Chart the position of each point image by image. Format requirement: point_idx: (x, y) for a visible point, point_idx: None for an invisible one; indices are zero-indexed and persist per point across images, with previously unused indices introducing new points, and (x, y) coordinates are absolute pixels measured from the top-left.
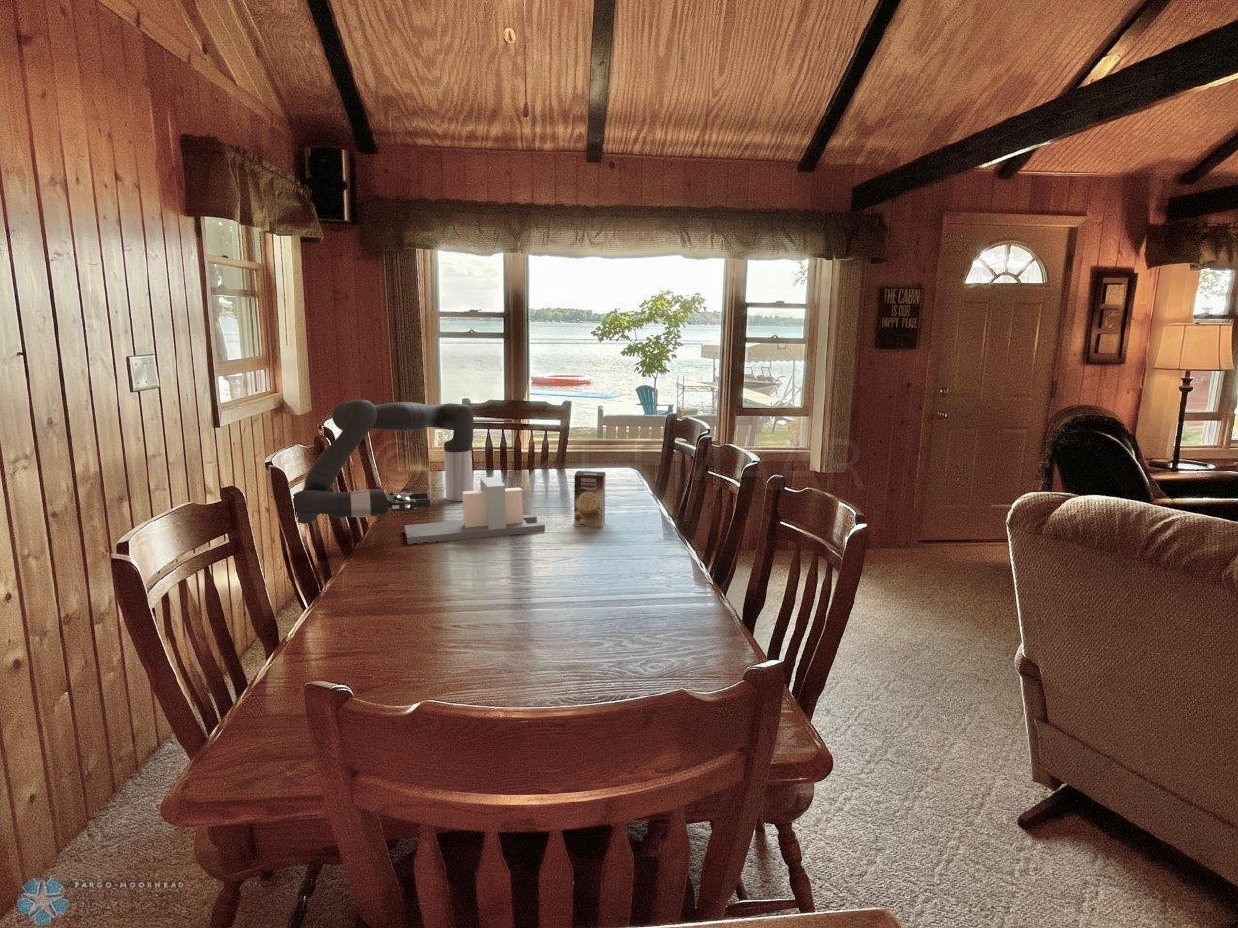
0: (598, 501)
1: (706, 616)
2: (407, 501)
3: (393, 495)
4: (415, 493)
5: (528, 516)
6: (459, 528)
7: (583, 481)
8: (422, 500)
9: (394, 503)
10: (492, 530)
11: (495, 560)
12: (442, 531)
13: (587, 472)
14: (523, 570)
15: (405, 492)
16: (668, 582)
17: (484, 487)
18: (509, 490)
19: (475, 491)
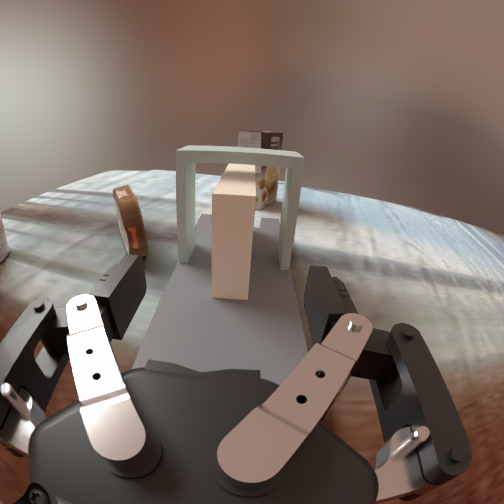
0: (278, 167)
1: (485, 232)
2: (410, 359)
3: (129, 465)
4: (110, 290)
5: (211, 219)
6: (252, 312)
7: (272, 141)
8: (336, 292)
9: (465, 446)
10: (289, 267)
11: (438, 297)
12: (272, 354)
13: (257, 130)
14: (462, 279)
15: (38, 325)
16: (444, 223)
17: (187, 175)
18: (251, 167)
19: (230, 183)
